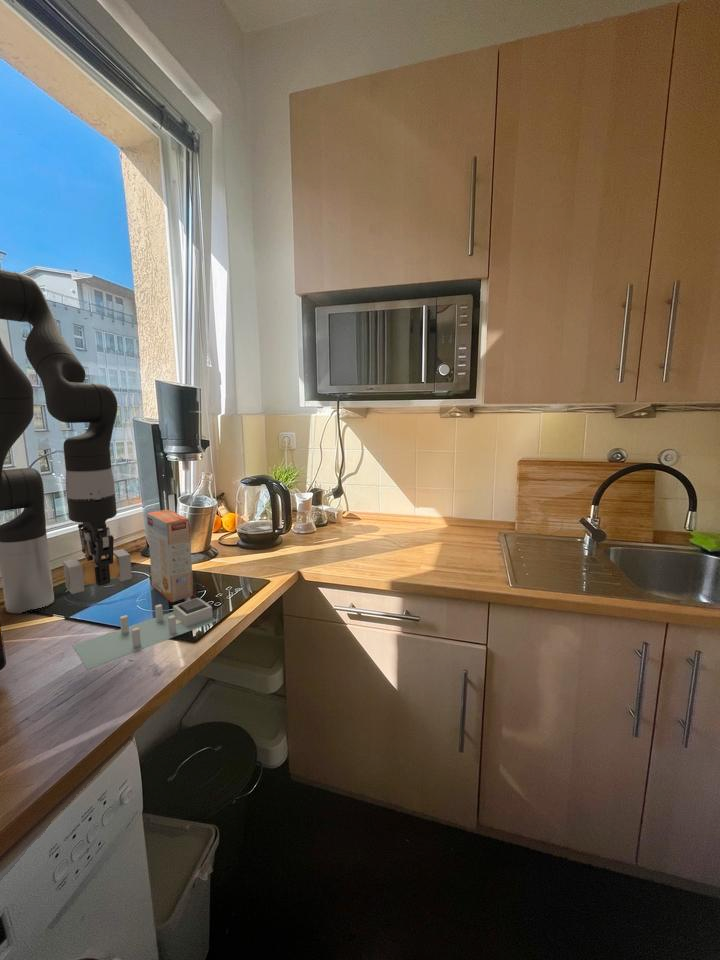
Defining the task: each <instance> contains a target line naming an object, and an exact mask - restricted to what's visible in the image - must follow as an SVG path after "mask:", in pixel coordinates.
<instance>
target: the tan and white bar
mask: <svg viewBox="0 0 720 960" xmlns="http://www.w3.org/2000/svg"><path fill="white" fill-rule="evenodd" d="M101 559H105V556H102V557H101ZM131 562H132V561H131V554H130V553H128V551H126V550H125V549H124V548H121V549H120V548H119V549H116V550H115V549H114V550H113V564H109V571H110V580H112V579H116V578H117V579H118V581H120V582H124V581H128V580H132V578H133V577H132V563H131ZM62 563H63V565H62V566H63V572H64V573H63V574H64V581H65V587H66V589H67V590H68V592H70V594H71V595H74V594H77V593H81V592H85V589H86V588H85V586H88V585H92V584H96V578H95V566H94V565H93V563H94V562H93V560H89V561H87V560H86V561H85V560H84V561H79V560H78V559H77V558H73V559H67V560H63V561H62Z"/></svg>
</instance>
